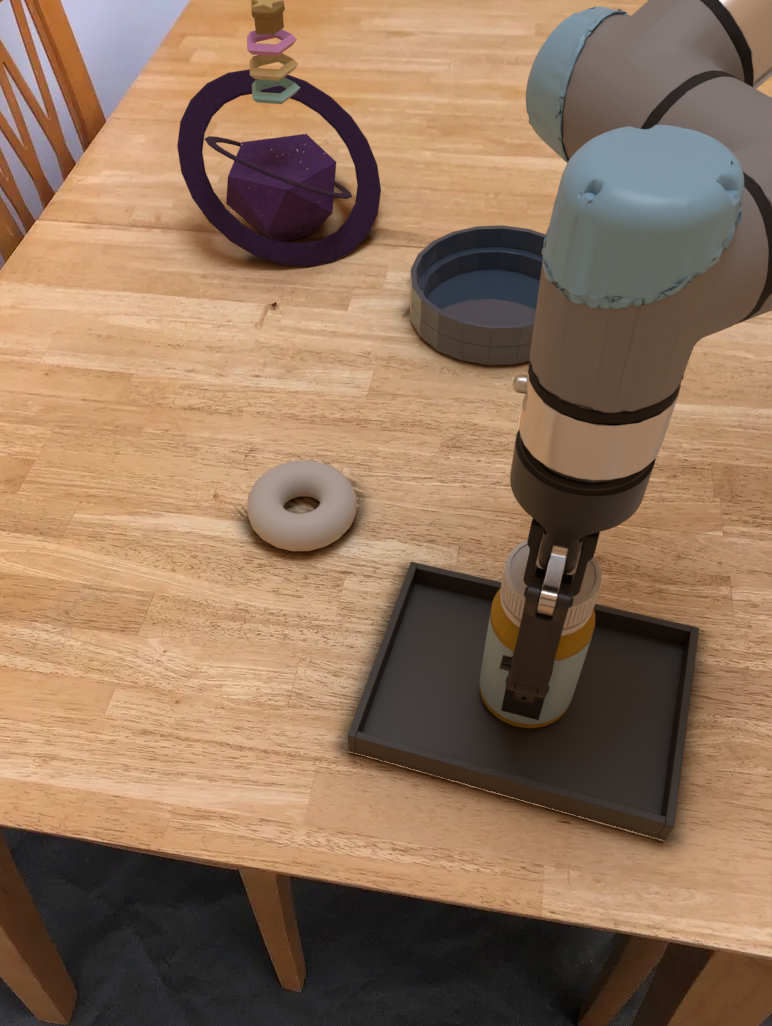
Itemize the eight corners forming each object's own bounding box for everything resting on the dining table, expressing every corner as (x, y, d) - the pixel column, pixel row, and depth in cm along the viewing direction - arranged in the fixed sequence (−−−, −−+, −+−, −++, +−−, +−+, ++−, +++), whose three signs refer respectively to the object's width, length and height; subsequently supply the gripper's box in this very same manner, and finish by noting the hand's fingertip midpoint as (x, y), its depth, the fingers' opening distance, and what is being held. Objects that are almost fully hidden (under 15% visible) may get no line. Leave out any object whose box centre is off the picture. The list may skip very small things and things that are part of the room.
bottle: (483, 649, 74) (503, 524, 62) (572, 661, 73) (610, 537, 61) (473, 724, 70) (493, 607, 58) (568, 739, 69) (607, 622, 57)
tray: (689, 647, 74) (699, 627, 72) (664, 843, 64) (674, 827, 62) (410, 581, 79) (411, 561, 77) (348, 753, 70) (347, 735, 68)
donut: (238, 554, 82) (348, 564, 81) (232, 528, 80) (346, 538, 78) (262, 474, 88) (365, 482, 87) (257, 448, 86) (364, 455, 84)
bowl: (591, 278, 104) (599, 238, 100) (561, 381, 94) (569, 340, 90) (434, 255, 108) (436, 215, 104) (389, 351, 98) (390, 311, 94)
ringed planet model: (225, 299, 105) (189, 66, 85) (174, 209, 117) (132, -14, 97) (405, 250, 109) (410, 16, 89) (338, 167, 121) (330, -55, 101)
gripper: (552, 317, 56) (510, 556, 75) (476, 559, 45) (448, 770, 64) (679, 337, 55) (604, 577, 73) (632, 594, 44) (557, 801, 62)
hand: (531, 667), depth 68 cm, fingers closed on bottle, 7 cm apart
